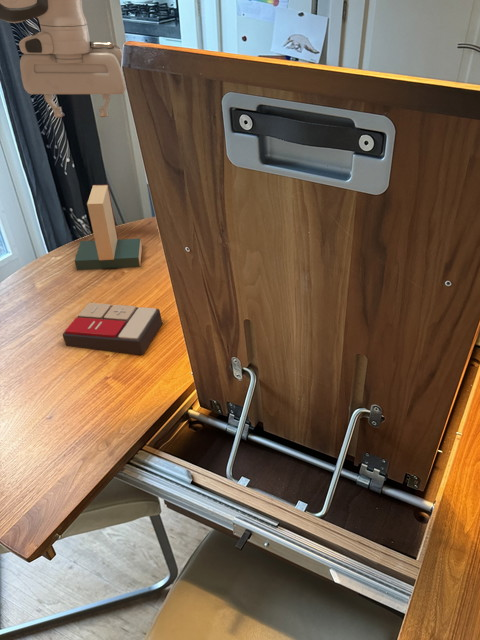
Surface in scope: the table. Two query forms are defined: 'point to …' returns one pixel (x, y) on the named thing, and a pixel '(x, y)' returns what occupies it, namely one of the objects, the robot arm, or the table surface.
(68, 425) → the table surface
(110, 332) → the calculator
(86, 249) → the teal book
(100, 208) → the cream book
